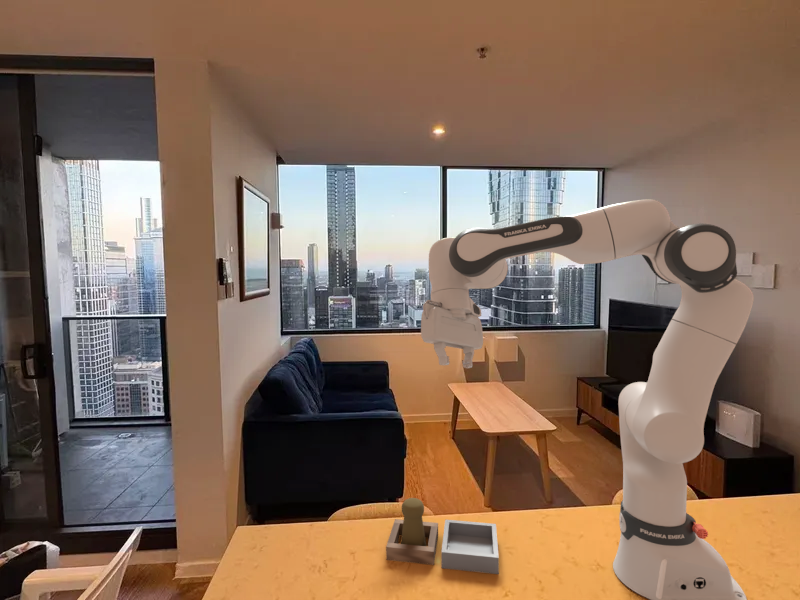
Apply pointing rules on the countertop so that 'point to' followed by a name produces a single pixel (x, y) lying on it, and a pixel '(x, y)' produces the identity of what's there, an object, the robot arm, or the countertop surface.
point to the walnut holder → (412, 551)
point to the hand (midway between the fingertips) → (456, 366)
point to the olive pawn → (413, 522)
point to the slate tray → (470, 547)
